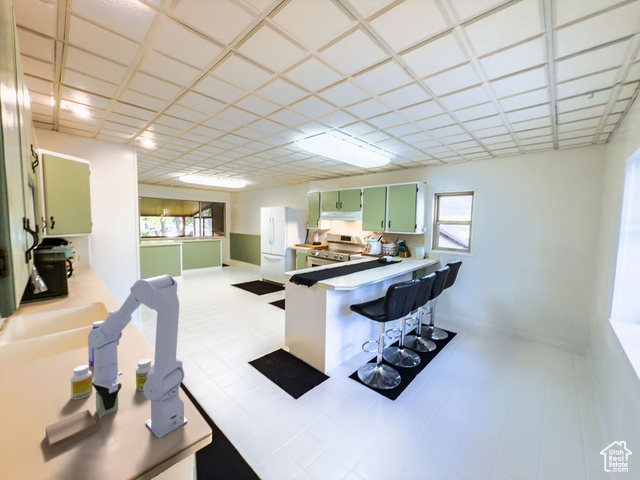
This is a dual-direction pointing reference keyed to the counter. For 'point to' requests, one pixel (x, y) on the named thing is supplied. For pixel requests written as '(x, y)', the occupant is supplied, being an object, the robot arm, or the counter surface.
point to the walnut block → (70, 430)
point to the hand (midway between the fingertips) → (107, 405)
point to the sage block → (100, 406)
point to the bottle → (90, 348)
